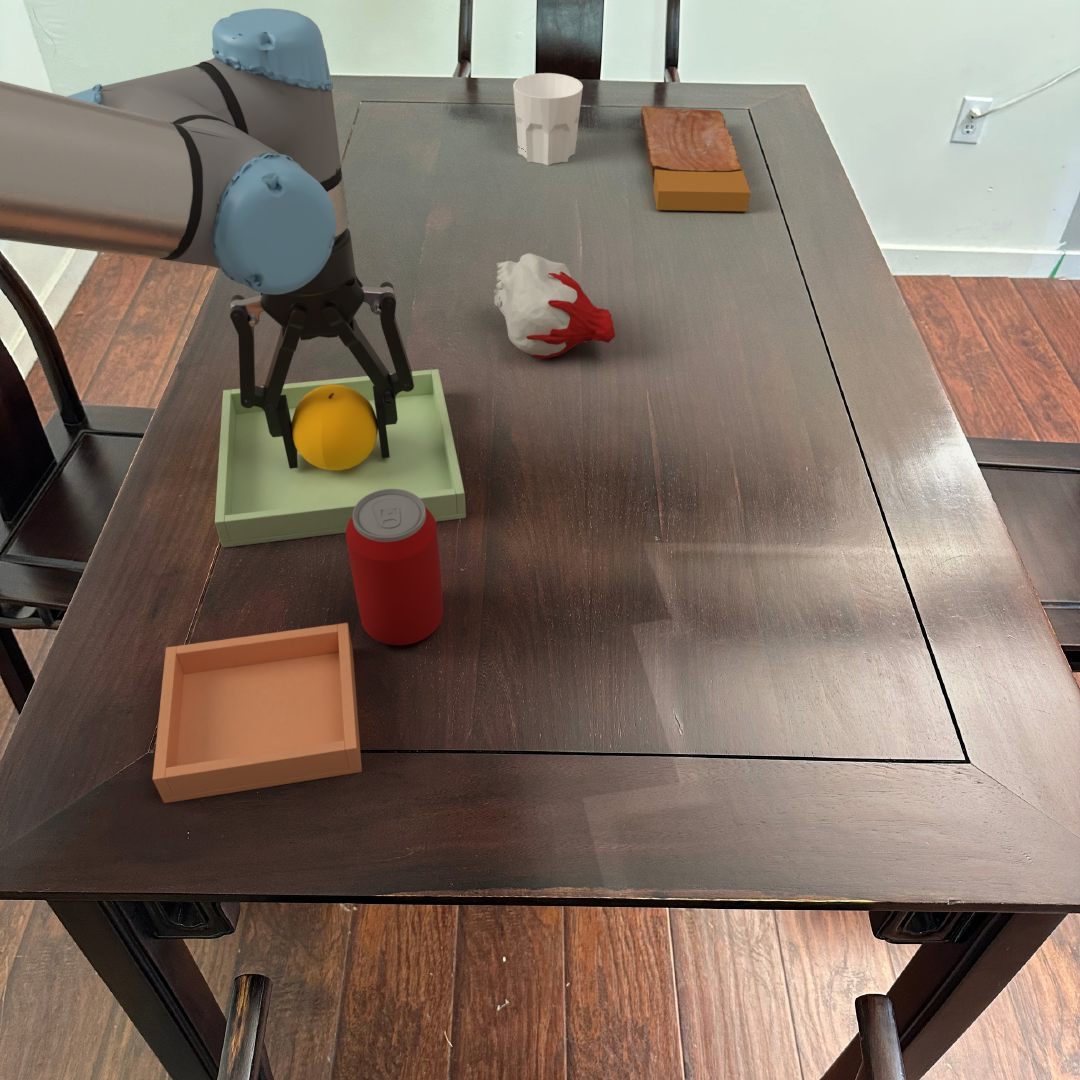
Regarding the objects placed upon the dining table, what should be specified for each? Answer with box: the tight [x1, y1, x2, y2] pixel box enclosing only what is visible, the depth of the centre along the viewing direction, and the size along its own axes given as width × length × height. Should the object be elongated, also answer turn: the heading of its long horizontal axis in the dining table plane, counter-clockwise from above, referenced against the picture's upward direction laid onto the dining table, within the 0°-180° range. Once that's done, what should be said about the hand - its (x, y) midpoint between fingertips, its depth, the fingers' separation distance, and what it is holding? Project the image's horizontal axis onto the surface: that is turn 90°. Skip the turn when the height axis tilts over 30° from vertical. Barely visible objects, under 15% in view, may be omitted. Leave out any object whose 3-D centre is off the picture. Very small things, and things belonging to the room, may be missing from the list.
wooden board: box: [640, 106, 751, 212], centre depth 142 cm, size 13×30×3 cm, turn 0°
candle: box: [493, 252, 616, 359], centre depth 106 cm, size 9×11×15 cm
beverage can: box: [345, 489, 444, 646], centre depth 75 cm, size 7×7×12 cm
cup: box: [512, 72, 584, 167], centre depth 142 cm, size 10×10×10 cm
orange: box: [291, 385, 378, 470], centre depth 90 cm, size 8×8×8 cm
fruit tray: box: [214, 368, 467, 549], centre depth 92 cm, size 22×20×3 cm
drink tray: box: [152, 622, 363, 804], centre depth 71 cm, size 14×12×3 cm
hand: (339, 454), depth 92 cm, fingers closed on orange, 8 cm apart
